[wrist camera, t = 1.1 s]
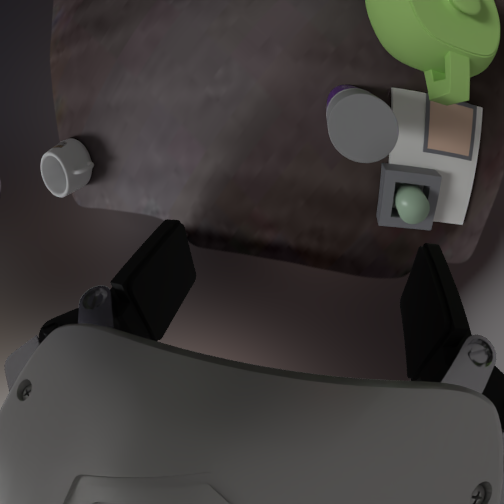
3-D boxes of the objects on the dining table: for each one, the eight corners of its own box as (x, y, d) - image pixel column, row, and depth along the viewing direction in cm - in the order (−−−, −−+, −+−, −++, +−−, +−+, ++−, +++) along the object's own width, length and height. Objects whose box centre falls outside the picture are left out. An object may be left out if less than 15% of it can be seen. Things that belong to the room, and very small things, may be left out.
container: (358, 79, 23) (384, 82, 12) (374, 117, 25) (410, 153, 14) (320, 92, 26) (312, 106, 14) (337, 129, 28) (343, 174, 16)
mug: (67, 184, 44) (46, 199, 39) (57, 139, 38) (34, 151, 33) (107, 186, 41) (85, 203, 37) (98, 133, 35) (71, 146, 31)
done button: (395, 180, 27) (401, 191, 25) (424, 184, 26) (432, 195, 24) (391, 209, 29) (395, 222, 27) (419, 212, 28) (426, 225, 26)
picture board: (382, 86, 23) (388, 87, 20) (479, 106, 19) (492, 111, 17) (375, 212, 32) (378, 225, 30) (460, 221, 29) (468, 234, 26)
